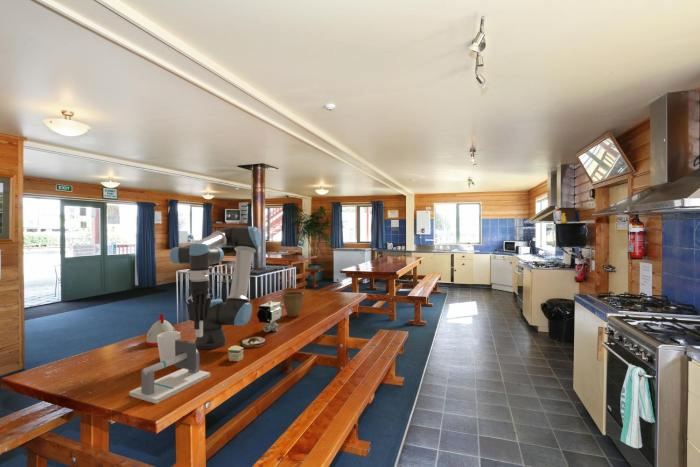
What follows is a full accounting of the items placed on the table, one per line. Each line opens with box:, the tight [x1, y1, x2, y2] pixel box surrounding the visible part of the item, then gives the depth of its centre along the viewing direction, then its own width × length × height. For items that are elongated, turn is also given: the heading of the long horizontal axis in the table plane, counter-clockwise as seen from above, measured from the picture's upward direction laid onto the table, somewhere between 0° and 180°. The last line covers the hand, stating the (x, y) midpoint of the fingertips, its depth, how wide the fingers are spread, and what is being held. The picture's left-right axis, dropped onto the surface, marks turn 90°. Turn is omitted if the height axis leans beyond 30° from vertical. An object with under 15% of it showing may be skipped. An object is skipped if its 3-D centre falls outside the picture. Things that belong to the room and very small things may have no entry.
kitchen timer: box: [145, 313, 176, 347], centre depth 182 cm, size 14×14×15 cm
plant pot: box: [282, 291, 304, 318], centre depth 238 cm, size 15×15×16 cm
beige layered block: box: [227, 345, 245, 362], centre depth 157 cm, size 10×9×6 cm
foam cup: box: [157, 330, 182, 366], centre depth 152 cm, size 10×9×13 cm
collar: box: [174, 339, 197, 370], centre depth 136 cm, size 10×2×11 cm, turn 66°
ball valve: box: [256, 300, 283, 333], centre depth 201 cm, size 18×8×18 cm, turn 163°
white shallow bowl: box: [241, 336, 267, 349], centre depth 178 cm, size 15×15×4 cm
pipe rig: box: [128, 348, 211, 405], centre depth 130 cm, size 14×24×11 cm, turn 156°
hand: (199, 336), depth 142 cm, fingers closed
